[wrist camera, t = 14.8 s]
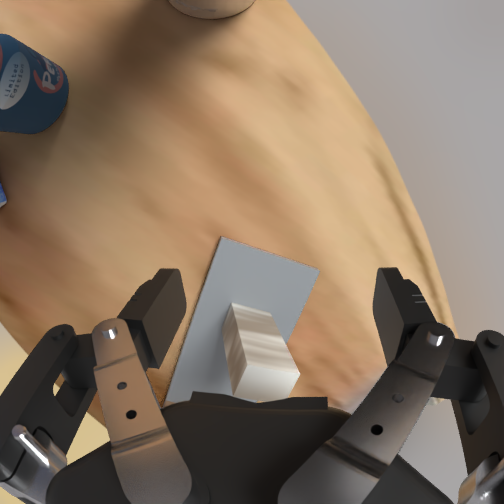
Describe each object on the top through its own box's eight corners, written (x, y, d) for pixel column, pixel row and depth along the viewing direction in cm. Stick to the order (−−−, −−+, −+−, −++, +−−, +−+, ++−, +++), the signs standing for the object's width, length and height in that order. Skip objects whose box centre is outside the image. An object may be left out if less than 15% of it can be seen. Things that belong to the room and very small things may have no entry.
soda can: (87, 85, 23) (26, 46, 11) (45, 148, 23) (-33, 147, 12) (43, 55, 21) (-22, 15, 9) (4, 114, 21) (-73, 102, 10)
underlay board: (220, 235, 28) (224, 246, 25) (317, 268, 31) (331, 282, 27) (161, 409, 33) (160, 432, 29) (240, 425, 35) (244, 447, 32)
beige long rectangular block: (231, 302, 30) (247, 364, 20) (270, 312, 31) (300, 374, 21) (221, 328, 30) (232, 396, 21) (259, 338, 31) (283, 404, 22)
